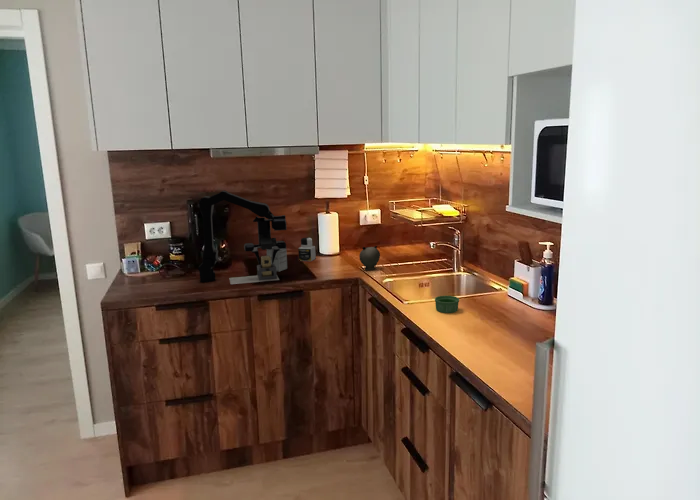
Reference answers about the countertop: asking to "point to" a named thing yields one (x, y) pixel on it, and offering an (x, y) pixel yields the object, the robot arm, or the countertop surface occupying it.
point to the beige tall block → (266, 265)
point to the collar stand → (260, 270)
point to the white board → (247, 279)
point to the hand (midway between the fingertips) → (266, 264)
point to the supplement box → (279, 259)
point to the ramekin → (446, 304)
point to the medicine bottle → (306, 250)
